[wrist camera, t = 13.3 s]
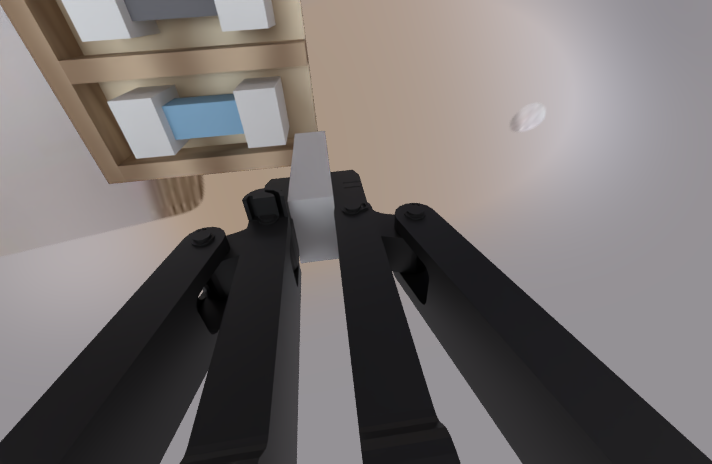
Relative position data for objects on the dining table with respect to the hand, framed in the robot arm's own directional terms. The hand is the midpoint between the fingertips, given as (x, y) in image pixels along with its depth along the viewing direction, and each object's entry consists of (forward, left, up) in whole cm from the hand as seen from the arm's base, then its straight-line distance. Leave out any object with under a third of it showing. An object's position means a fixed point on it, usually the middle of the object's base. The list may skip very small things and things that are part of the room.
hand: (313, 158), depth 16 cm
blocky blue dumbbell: (-8, 0, -12) cm, 15 cm away
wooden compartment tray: (-8, +4, -13) cm, 16 cm away
